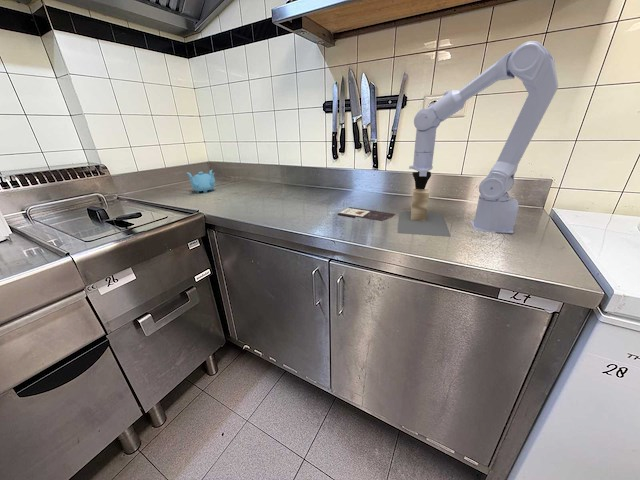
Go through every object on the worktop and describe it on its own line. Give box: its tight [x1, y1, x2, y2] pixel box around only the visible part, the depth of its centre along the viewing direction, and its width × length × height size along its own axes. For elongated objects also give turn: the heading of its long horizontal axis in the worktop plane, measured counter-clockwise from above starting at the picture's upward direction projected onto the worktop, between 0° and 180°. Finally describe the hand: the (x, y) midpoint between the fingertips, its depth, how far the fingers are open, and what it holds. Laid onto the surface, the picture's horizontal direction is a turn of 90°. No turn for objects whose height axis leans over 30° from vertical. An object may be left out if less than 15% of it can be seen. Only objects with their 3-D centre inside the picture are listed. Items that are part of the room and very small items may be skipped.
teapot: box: [186, 169, 216, 194], centre depth 138 cm, size 13×13×10 cm
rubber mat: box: [397, 211, 452, 238], centre depth 83 cm, size 14×20×1 cm
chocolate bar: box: [337, 206, 396, 222], centre depth 93 cm, size 9×1×18 cm
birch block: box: [410, 188, 430, 221], centre depth 85 cm, size 4×4×9 cm
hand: (419, 194), depth 89 cm, fingers closed
